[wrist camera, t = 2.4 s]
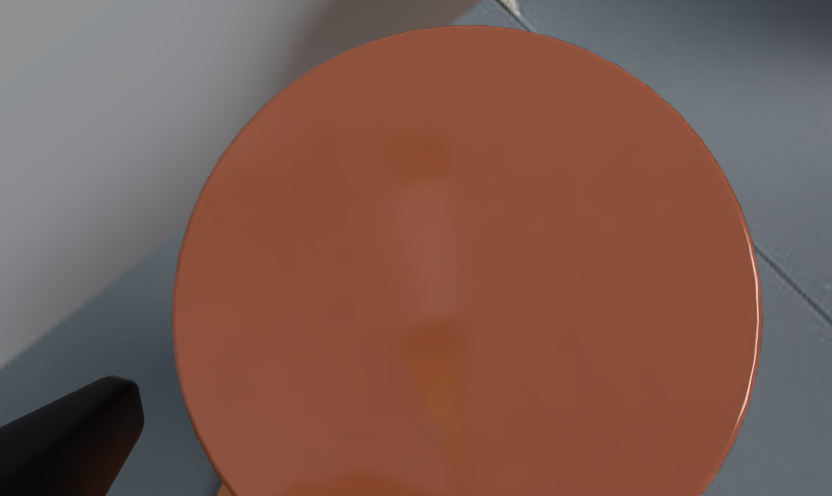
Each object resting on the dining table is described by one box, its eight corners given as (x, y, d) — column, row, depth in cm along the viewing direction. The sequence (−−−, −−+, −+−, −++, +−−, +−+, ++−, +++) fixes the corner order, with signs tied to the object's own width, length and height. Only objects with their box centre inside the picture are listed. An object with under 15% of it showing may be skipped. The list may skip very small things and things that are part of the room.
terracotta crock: (536, 502, 17) (652, 754, 5) (351, 418, 19) (60, 450, 6) (605, 311, 18) (848, 117, 6) (425, 242, 20) (309, -45, 7)
